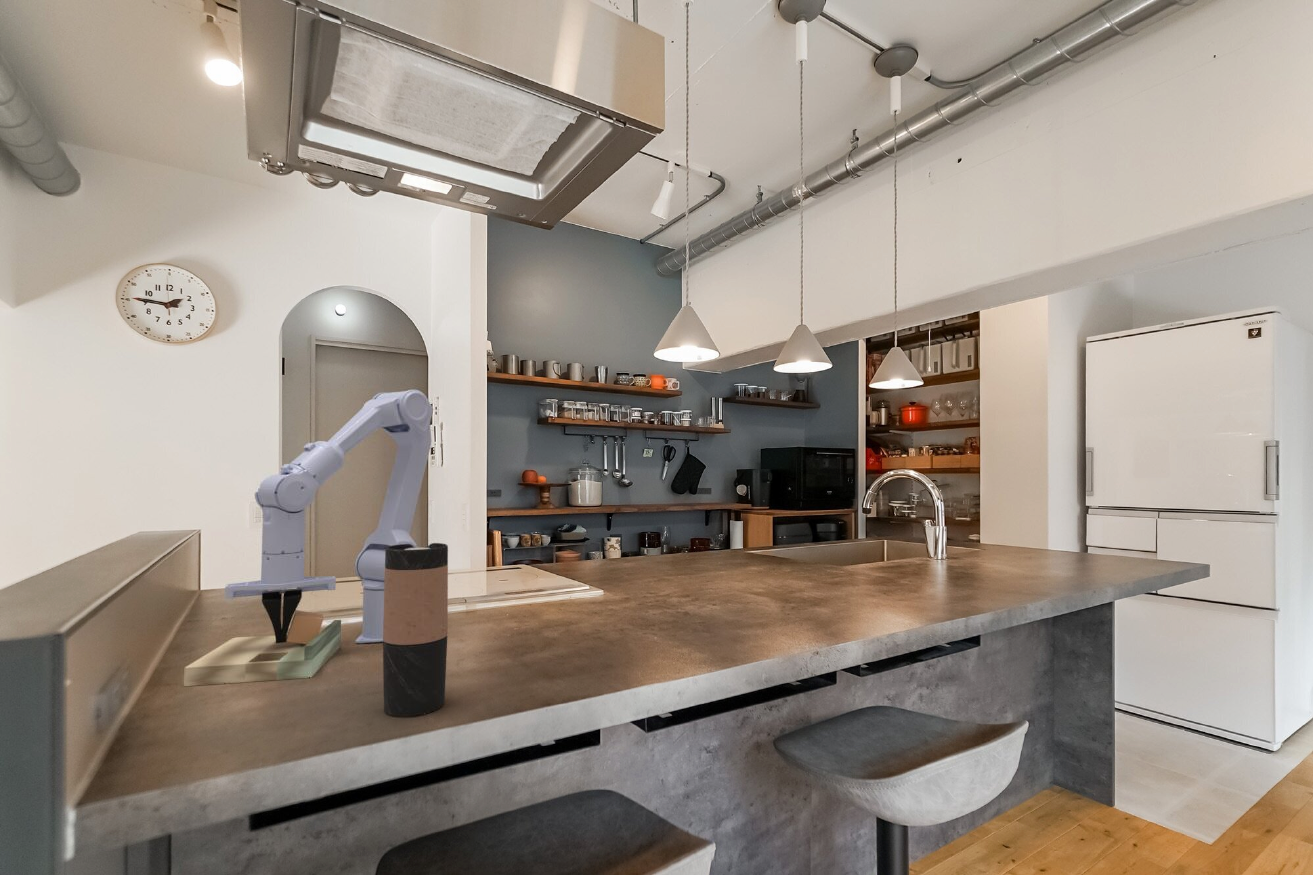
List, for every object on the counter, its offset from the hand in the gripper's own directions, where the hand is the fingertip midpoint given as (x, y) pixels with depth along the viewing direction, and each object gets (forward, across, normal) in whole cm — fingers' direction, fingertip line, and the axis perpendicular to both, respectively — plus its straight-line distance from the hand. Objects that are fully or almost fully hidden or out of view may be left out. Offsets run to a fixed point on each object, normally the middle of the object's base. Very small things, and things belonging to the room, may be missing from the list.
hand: (281, 641), depth 97 cm
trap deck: (+3, +1, 0) cm, 4 cm away
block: (0, -3, -1) cm, 3 cm away
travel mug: (+4, -15, +28) cm, 32 cm away
